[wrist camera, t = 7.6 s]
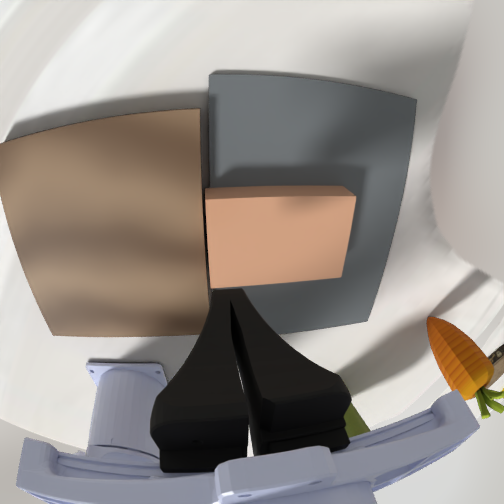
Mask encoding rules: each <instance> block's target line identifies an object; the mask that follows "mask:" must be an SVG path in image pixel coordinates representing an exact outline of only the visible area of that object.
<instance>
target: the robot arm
mask: <svg viewBox="0 0 504 504" xmlns="http://www.w3.org/2000/svg"><path fill="white" fill-rule="evenodd" d="M237 366H238V367H237ZM86 369H87V371H88V372H89V374H90V376H91V377H92V379H93V381H94V382H95V384H96V386H97V392H96V397H95V402H94V408H93V414H92V420H91V426H90V433H89V440H88V447H87V450H86V453H85V452H83V451H80V450H79V451H78V452H77V453H75V454H69V453H64V452H59V451H57V449H56V448H55V447H53V446H52V445H51V444H49V443H46V442H43V441H39V440H35V439H31V438H25V439H24V443H23V448H22V453H21V458H20V463H19V469H18V475H17V482H16V486H17V487H18V488H20V489H22V490H23V491H25V492H27V493H29V494H31V495H33V496H34V497H36V498H38V499H40V500H42V501H44V502H46V503H48V504H377V502H376V500H375V497H374V494H373V492H375V491H377V490H379V489H382V488H384V487H386V486H388V485H391V484H393V483H395V482H397V481H399V480H401V479H403V478H405V477H407V476H409V475H411V474H413V473H415V472H417V471H419V470H421V469H422V468H424V467H426V466H428V465H429V464H432V463H433V462H435V461H437V460H439V459H440V458H442V457H444V456H445V455H447V454H449V453H451V452H452V451H454V450H455V449H456V448H457V447H458V446H460V445H461V444H462V443H463V442H464V441H466V440H467V439H468V438H469V437H470V436H471V435H472V434H473V433H475V432H476V431H477V430H478V429H479V428H480V425H479V424H478V422H477V420H476V418H475V417H474V415H473V413H472V412H471V410H470V409H469V407H468V405H467V404H466V402H465V400H464V399H463V397H462V396H461V394H460V393H459V391H458V390H457V389H456V390H454V391H452V392H450V393H448V394H445V395H443V396H441V397H440V398H438V399H437V400H436V401H435V402H434V403H433V405H432V406H431V408H429V409H427V410H425V411H422V412H420V413H418V414H415V415H413V416H411V417H408V418H405V419H403V420H401V421H398V422H395V423H393V424H390V425H387V426H384V427H382V428H379V429H376V430H373V431H370V432H367V433H363V434H360V435H357V436H354V437H350V438H349V437H348V435H347V432H346V430H345V427H346V421H345V419H344V415H345V413H346V411H347V409H348V408H349V406H350V404H351V401H352V399H351V395H350V393H349V391H348V389H347V387H346V385H345V384H344V382H343V381H342V379H341V377H340V376H339V375H337V374H335V373H333V372H331V371H329V370H327V369H325V368H322V367H321V366H319V365H317V364H315V363H314V362H312V361H310V360H309V359H307V358H306V357H305V356H303V355H302V354H300V353H299V352H298V351H296V350H295V349H294V348H292V347H291V346H290V345H289V344H288V343H286V342H285V341H284V340H283V339H282V338H281V337H280V336H279V335H278V334H277V333H276V332H275V331H274V330H273V329H272V328H271V327H270V326H269V325H268V324H267V322H266V321H265V320H264V319H263V318H262V316H261V315H260V314H259V313H258V311H257V310H256V309H255V307H254V306H253V304H252V303H251V301H250V300H249V298H248V297H247V295H246V293H245V291H244V290H243V289H242V288H236V289H222V290H214V291H213V292H212V299H211V304H210V308H209V312H208V315H207V318H206V321H205V324H204V326H203V329H202V331H201V333H200V336H199V338H198V340H197V342H196V344H195V346H194V348H193V349H192V351H191V353H190V355H189V356H188V358H187V359H186V361H185V363H184V364H183V365H182V367H181V368H180V370H179V371H178V372H177V373H176V375H175V376H174V377H173V379H172V380H171V381H170V382H169V383H167V380H166V377H165V374H164V371H163V367H162V365H160V364H157V363H146V364H127V363H90V362H89V363H86ZM238 369H239V371H238ZM239 373H240V376H239ZM240 377H241V380H240ZM241 381H242V384H241ZM242 385H243V388H242ZM243 390H244V392H243ZM249 428H250V435H251V441H252V448H253V454H254V457H247V446H248V431H249Z"/></svg>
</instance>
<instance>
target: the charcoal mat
mask: <svg viewBox="0 0 504 504" xmlns="http://www.w3.org/2000/svg"><path fill="white" fill-rule="evenodd" d="M416 103H417V99H413V98H409V97H405V96H402V95H398V94H393V93H389V92H385V91H380V90H376V89H371V88H366V87H361V86H355V85H350V84H344V83H337V82H331V81H323V80H315V79H307V78H297V77H285V76H270V75H245V74H214V75H209V170H210V188H221V187H246V186H302V185H310V186H344V187H345V188H346V189H348V190H349V191H350V192H351V193H353V194H354V195H355V196H356V202H355V208H354V214H353V220H352V226H351V231H350V237H349V242H348V247H347V252H346V257H345V262H344V266H343V271H342V276H341V277H339V278H329V279H319V280H309V281H298V282H287V283H275V284H264V285H251V286H238V287H224V288H215V290H222V289H236V288H242V289H243V290H244V291H245V293H246V295H247V297H248V298H249V300H250V301H251V303H252V304H253V306H254V307H255V309H256V310H257V311H258V313H259V314H260V315H261V316H262V318H263V319H264V320H265V321H266V322H267V324H268V325H269V326H270V327H271V328H272V329H273V330H274V331H275V332H276V333H277V334H287V333H295V332H303V331H310V330H317V329H324V328H331V327H337V326H343V325H349V324H355V323H361V322H366V321H368V318H369V315H370V312H371V309H372V306H373V303H374V300H375V297H376V294H377V291H378V288H379V285H380V282H381V278H382V275H383V272H384V268H385V265H386V262H387V258H388V254H389V251H390V247H391V243H392V239H393V236H394V232H395V227H396V223H397V219H398V215H399V210H400V206H401V201H402V196H403V192H404V186H405V181H406V176H407V170H408V164H409V158H410V152H411V145H412V138H413V131H414V122H415V113H416Z"/></svg>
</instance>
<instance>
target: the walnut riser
mask: <svg viewBox="0 0 504 504" xmlns="http://www.w3.org/2000/svg"><path fill="white" fill-rule="evenodd" d="M0 196H1V200H2V204H3V208H4V212H5V215H6V219H7V223H8V226H9V229H10V233H11V236H12V239H13V242H14V245H15V248H16V251H17V254H18V257H19V260H20V263H21V265H22V268H23V271H24V273H25V276H26V278H27V281H28V283H29V286H30V288H31V290H32V293H33V295H34V297H35V299H36V302H37V304H38V306H39V308H40V310H41V313H42V315H43V317H44V319H45V321H46V323H47V325H48V327H49V329H50V331H51V333H52V335H53V336H77V337H152V336H179V335H198V334H200V333H201V331H202V329H203V326H204V324H205V321H206V318H207V315H208V312H209V297H208V284H207V271H206V256H205V240H204V223H203V202H202V177H201V140H200V108H191V109H176V110H164V111H153V112H144V113H136V114H128V115H121V116H114V117H107V118H101V119H96V120H90V121H85V122H80V123H75V124H70V125H66V126H61V127H57V128H53V129H48V130H44V131H41V132H37V133H33V134H29V135H26V136H22V137H19V138H16V139H12V140H9V141H6V142H3V143H1V144H0Z"/></svg>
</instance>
